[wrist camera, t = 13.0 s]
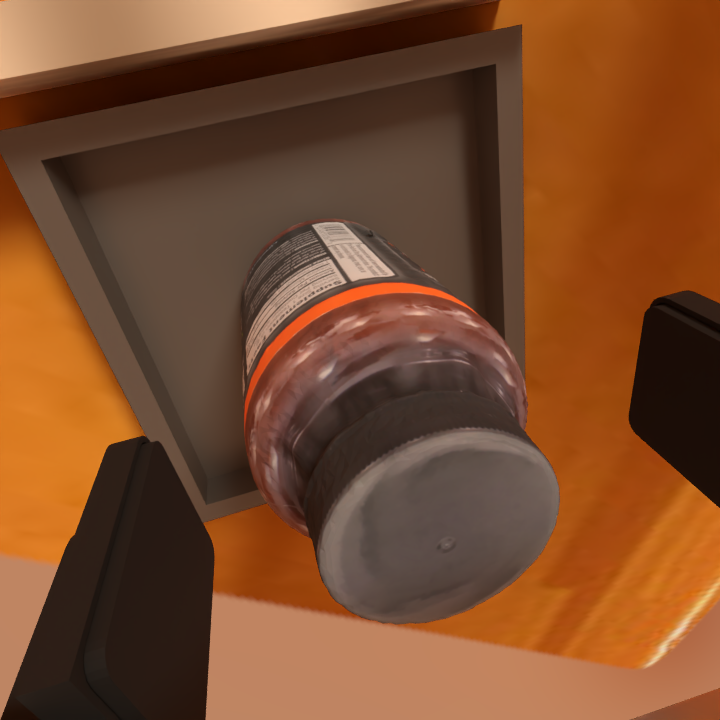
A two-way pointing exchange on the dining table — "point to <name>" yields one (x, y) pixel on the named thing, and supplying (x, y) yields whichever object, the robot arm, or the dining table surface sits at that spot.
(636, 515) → the dining table surface
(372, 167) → the tray
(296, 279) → the supplement bottle
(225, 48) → the bay
